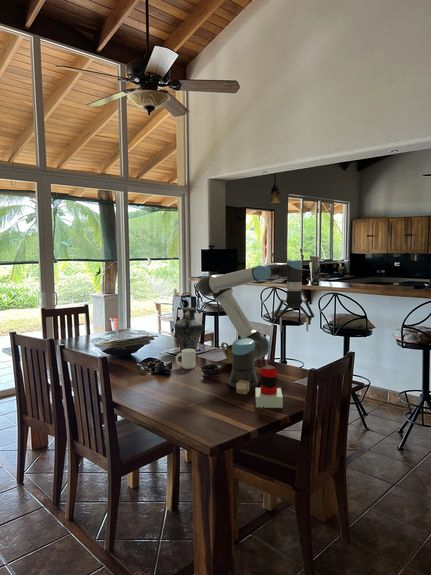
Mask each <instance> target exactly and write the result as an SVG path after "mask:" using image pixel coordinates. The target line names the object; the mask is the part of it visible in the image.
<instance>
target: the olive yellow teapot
mask: <svg viewBox="0 0 431 575" xmlns="http://www.w3.org/2000/svg"><path fill="white" fill-rule="evenodd" d="M220 346H221V349H222V351H223V353H224V355H225V358H226V360H227V361H228V362H229V363H230V364H231V365H232V344H229V343H227V342H225V341H224V342H221V344H220ZM225 346H226V348H225Z"/></svg>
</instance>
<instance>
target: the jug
mask: <svg viewBox="0 0 431 575" xmlns="http://www.w3.org/2000/svg"><path fill="white" fill-rule="evenodd" d="M196 309H197V308H195V307H192V306H191V307H182V314H183V316H182V318H181V319H179V320H177V321H176V322H175V323H174V331H175V332H174V333H175V334H176V337H177V340H178V344H179V351H180V352H181V351H182V350H183V349H194V350H195V352H197V348H198V347H197V346H198V344H199V340H200V338H201V336H202V333H203V329H204V325H203V323H202V322H201V321H200V320H198V319H196V316H195V314H196Z"/></svg>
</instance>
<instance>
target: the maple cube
mask: <svg viewBox="0 0 431 575" xmlns="http://www.w3.org/2000/svg"><path fill="white" fill-rule="evenodd" d="M235 389H236V390H235V391H236V392H235V393H236V394H241V395H247V394H248V393H249V392H250V389H249V381H242V380H240V381H239V382H237V383H236V388H235Z"/></svg>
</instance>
